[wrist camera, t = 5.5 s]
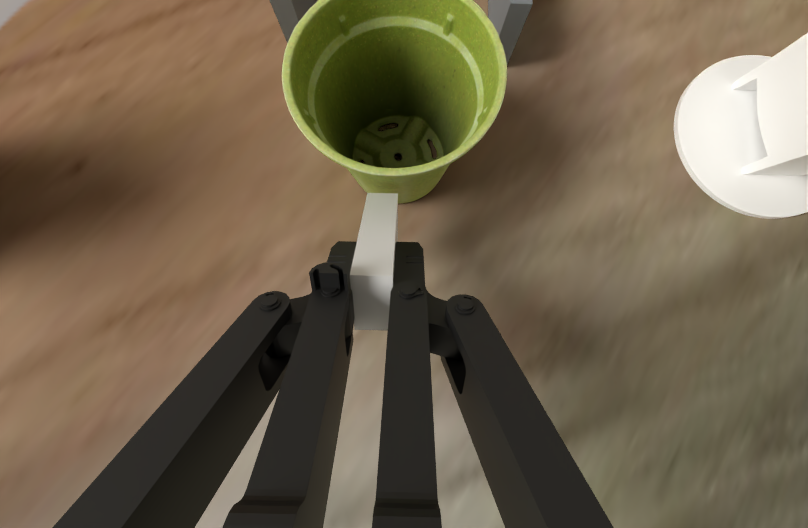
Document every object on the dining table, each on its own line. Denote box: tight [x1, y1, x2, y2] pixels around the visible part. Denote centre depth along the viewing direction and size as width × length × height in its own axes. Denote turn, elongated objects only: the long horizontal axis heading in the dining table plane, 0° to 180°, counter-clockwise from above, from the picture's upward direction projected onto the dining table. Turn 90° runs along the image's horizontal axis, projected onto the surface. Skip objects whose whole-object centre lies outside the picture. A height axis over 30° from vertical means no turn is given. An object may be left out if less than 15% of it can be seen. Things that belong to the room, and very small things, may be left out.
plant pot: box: [282, 0, 507, 203], centre depth 19 cm, size 9×9×9 cm
